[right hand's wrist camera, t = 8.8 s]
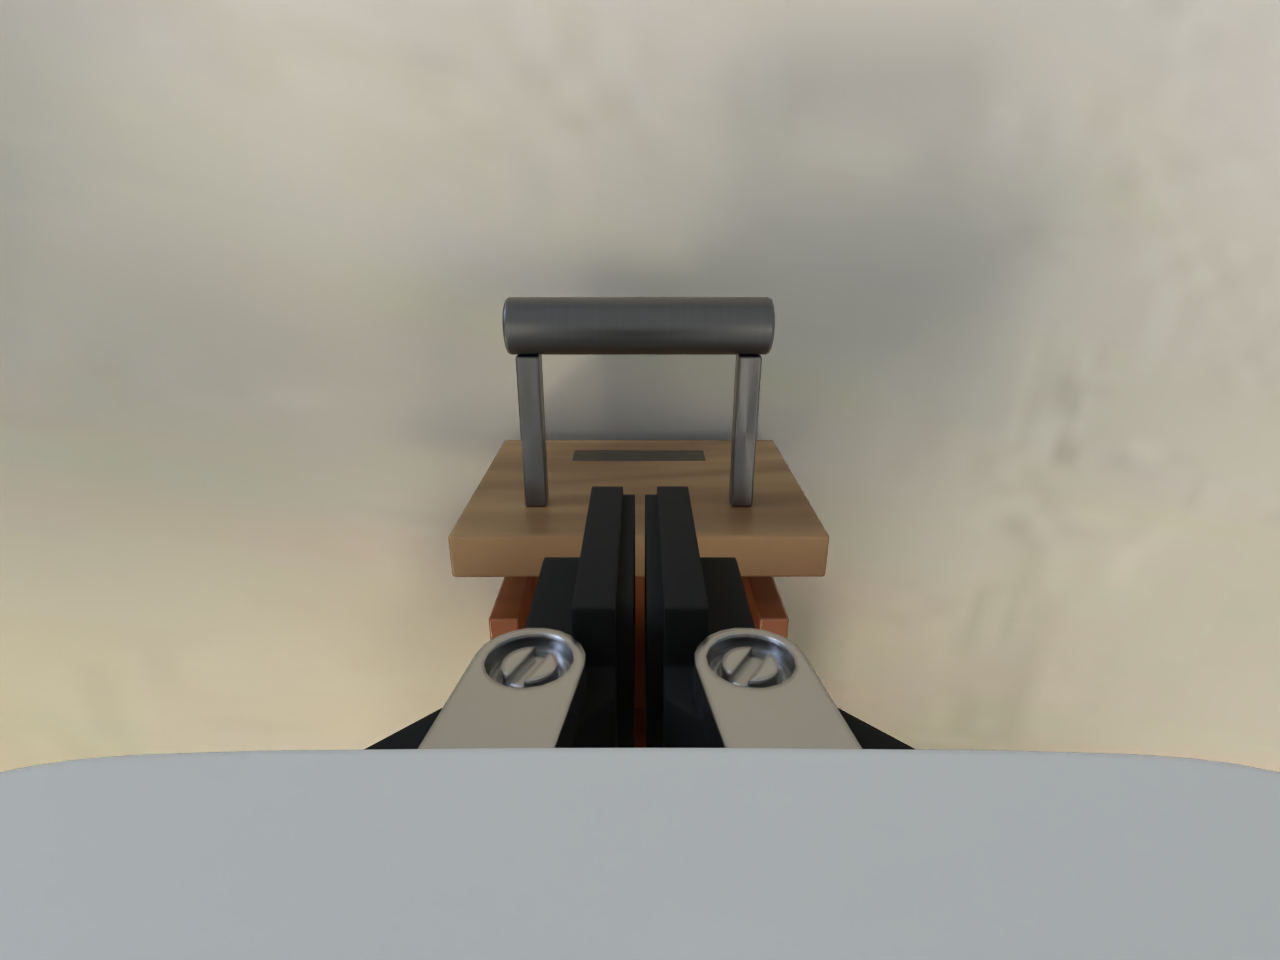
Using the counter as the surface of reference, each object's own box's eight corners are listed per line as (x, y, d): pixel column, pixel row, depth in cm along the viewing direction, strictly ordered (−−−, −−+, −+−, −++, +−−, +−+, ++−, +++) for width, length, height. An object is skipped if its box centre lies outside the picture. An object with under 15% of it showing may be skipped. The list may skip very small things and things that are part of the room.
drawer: (492, 277, 23) (421, 308, 15) (784, 277, 23) (855, 308, 15) (524, 705, 29) (484, 873, 22) (754, 704, 29) (793, 873, 22)
